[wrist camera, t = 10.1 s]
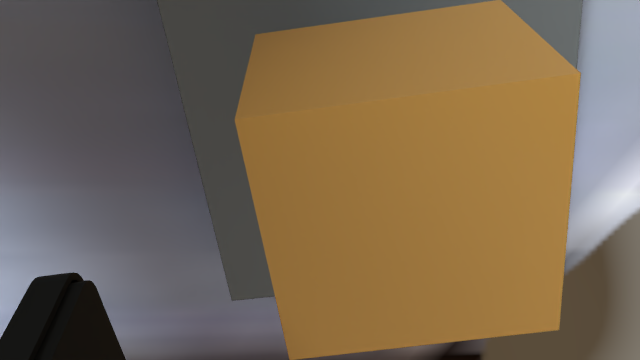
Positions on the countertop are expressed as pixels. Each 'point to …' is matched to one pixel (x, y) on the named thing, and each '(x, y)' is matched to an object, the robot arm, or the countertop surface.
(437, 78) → the tan cardboard carton
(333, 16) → the block
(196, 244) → the countertop surface
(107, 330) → the robot arm
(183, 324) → the countertop surface
